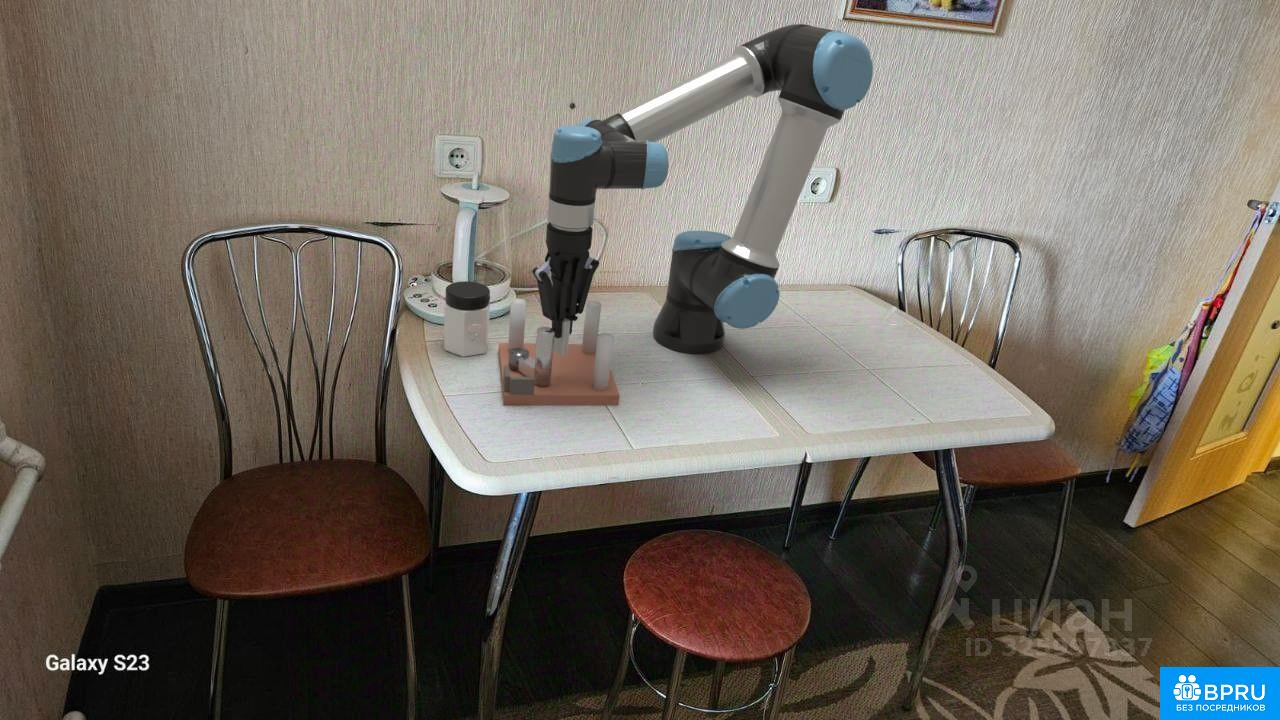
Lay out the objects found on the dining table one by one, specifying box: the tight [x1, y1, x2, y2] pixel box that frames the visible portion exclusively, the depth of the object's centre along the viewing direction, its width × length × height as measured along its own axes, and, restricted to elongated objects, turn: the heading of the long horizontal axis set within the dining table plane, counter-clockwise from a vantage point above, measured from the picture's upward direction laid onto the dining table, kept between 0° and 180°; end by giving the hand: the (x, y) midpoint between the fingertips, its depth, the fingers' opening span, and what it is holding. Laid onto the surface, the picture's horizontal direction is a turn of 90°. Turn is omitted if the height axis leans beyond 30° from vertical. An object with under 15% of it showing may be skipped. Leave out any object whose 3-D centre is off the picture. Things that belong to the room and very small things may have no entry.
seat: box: [498, 297, 620, 406], centre depth 147 cm, size 20×20×12 cm
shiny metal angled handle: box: [508, 326, 555, 386], centre depth 143 cm, size 10×4×10 cm, turn 45°
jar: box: [443, 281, 491, 358], centre depth 154 cm, size 9×8×12 cm
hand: (560, 351), depth 144 cm, fingers closed
